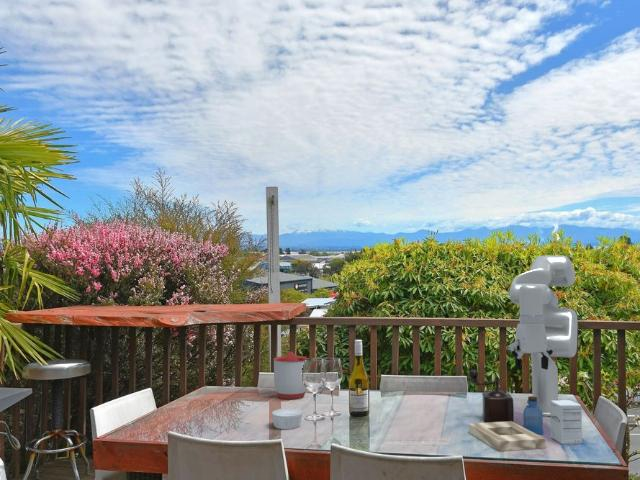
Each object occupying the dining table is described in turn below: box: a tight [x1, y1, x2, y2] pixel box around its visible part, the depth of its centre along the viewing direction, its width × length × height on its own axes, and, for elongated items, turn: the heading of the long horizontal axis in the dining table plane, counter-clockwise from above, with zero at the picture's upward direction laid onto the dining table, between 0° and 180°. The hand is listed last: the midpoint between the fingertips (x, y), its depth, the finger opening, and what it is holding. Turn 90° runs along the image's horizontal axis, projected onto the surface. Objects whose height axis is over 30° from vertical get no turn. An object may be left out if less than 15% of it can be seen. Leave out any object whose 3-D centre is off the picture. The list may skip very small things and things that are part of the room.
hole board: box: [468, 421, 546, 452], centre depth 204 cm, size 16×22×3 cm
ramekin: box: [271, 407, 303, 431], centre depth 223 cm, size 11×11×5 cm
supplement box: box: [550, 399, 583, 445], centre depth 203 cm, size 7×7×13 cm
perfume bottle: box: [522, 395, 544, 436], centre depth 214 cm, size 6×6×12 cm
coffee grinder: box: [467, 369, 515, 423], centre depth 230 cm, size 16×11×18 cm
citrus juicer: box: [273, 351, 308, 400], centre depth 272 cm, size 16×17×20 cm
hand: (531, 369), depth 214 cm, fingers open, 9 cm apart
